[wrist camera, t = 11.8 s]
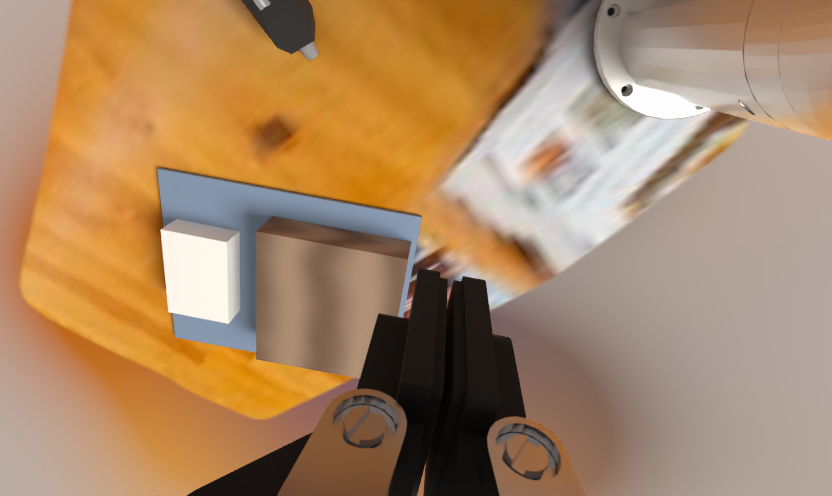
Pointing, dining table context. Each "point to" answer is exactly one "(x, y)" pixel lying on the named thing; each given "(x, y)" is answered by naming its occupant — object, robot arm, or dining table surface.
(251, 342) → the placemat
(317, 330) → the block
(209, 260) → the tile
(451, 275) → the dining table surface
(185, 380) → the dining table surface
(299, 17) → the gun
